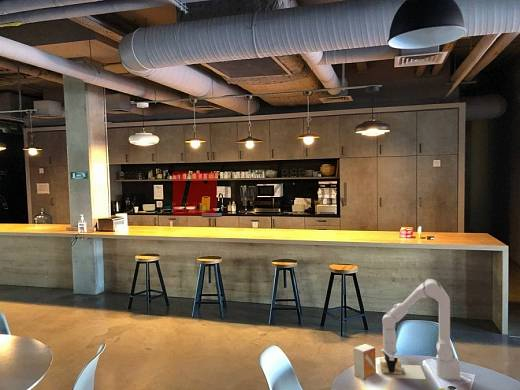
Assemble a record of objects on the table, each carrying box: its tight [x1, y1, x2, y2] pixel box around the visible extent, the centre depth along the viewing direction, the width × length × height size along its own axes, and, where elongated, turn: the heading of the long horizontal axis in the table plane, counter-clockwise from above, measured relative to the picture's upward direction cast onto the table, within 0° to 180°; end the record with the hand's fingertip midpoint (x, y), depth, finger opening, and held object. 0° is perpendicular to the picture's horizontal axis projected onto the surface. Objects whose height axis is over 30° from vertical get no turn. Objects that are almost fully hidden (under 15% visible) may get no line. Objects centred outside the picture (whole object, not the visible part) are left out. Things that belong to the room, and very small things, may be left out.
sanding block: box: [379, 357, 402, 374], centre depth 198 cm, size 9×5×5 cm, turn 79°
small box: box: [353, 343, 377, 380], centre depth 197 cm, size 8×6×13 cm
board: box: [376, 363, 427, 380], centre depth 197 cm, size 20×14×1 cm
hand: (390, 369), depth 198 cm, fingers closed on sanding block, 5 cm apart
